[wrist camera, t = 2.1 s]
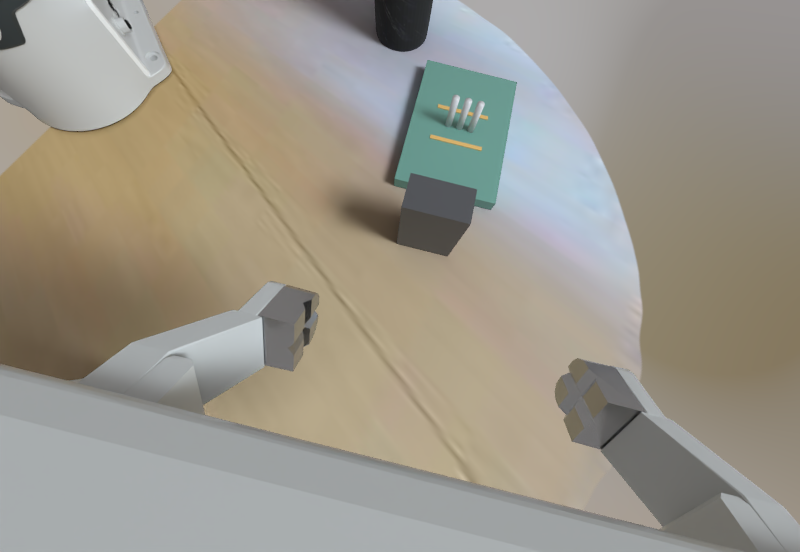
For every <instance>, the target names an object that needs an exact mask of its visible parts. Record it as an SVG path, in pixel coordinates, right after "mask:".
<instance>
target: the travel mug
mask: <svg viewBox="0 0 800 552" xmlns="http://www.w3.org/2000/svg"><path fill="white" fill-rule="evenodd" d="M432 3H433V0H375V16H376V31H377V35H378V38H379V39H380V41H381V42H382V43H383V44H384V45H385V46H387V47H388V48H390V49H393V50H396V51H411V50H414V49H416V48H418V47H419V46H421V45H422V44H423V42H424V41H425V39H426V36H427V31H428V26H429V20H430V14H431V8H432Z"/></svg>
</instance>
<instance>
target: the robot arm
mask: <svg viewBox="0 0 800 552" xmlns="http://www.w3.org/2000/svg"><path fill="white" fill-rule="evenodd" d="M170 73H171V66H170V63H169V61H168V59H167V56H166V54H165V52H164V49H163V47H162V45H161V42H160V40H159V38H158V35H157V33H156V31H155V28H154V26H153V24H152V21H151V19H150V17H149V14H148V12H147V10H146V7H145V5H144V3H143V1H142V0H0V97H2V98H3V99H4V100H5V101H7V102H8V103H10V104H13V105H16V106H19V107H22V108H26V109H27V110H28V111H30V112H31V113H32V114H33V115H34V116H35V117H36V118H37V119H39V120H40V121H42V122H43V123H45V124H47V125H49V126H51V127H54V128H57V129H61V130H67V131H87V130H94V129H98V128H102V127H105V126H108V125H111V124H113V123H115V122H117V121H119V120H121V119H123V118H124V117H126V116H127V115H129V114H130V113H132V112H133V111H134V110H135V109H136V108H137V107H138V106H139V105H140V104H141V103H142V102H143V100H144V99H145V98H146V96H147V95H148V93H149V92H150V90H151V89H152V88H153V87H154V86H155V85H157V84H158V83H160V82H161V81H162V80H164V79H165V78H166V77H167V76H168V75H169V74H170ZM318 305H319V295H318V293H315V292H311V291H308V290H304V289H300V288H297V287H293V286H289V285H285V284H281V283H277V282H274V281H270V282H267V283H266V284H265V285H264V286H263V287H262V288H261V289H260V290H259V291H258V292H257V293H256V294H255V295H254V296H253V297H252V298H251V299H250V300H249V301H248V302H247V303H246V304H245V305H244V306H243V307H242V308H240V309H239V310H238V311H236V310H231V311H228V312H225V313H222V314H218V315H215V316H212V317H209V318H206V319H203V320H200V321H197V322H194V323H191V324H188V325H184V326H181V327H178V328H175V329H172V330H169V331H166V332H163V333H160V334H157V335H153V336H150V337H147V338H144V339H141V340H138V341H135V342H132V343H130V344H129V345H128V346H126V347H125V348H124V349H122V350H121V351H120V352H118V353H117V354H115V355H114V356H113V357H111V358H110V359H109V360H107V361H106V362H105V363H103V364H102V365H101V366H99V367H98V368H97V369H95V370H94V371H93V372H91V373H90V374H89V375H87V376H86V377H85V378H83V379H82V380H80V381H79V382H78V383H76V382H72V381H68V380H64V379H60V378H56V377H52V376H48V375H44V374H40V373H36V372H32V371H28V370H24V369H20V368H16V367H12V366H8V365H4V364H0V552H800V525H799V524H798V523H797V522H796V521H795V519H794V518H793V517H792V516H791V515H790V514H789V512H788V511H787V510H786V509H785V508H784V507H783V506H782V505H781V504H779V503H778V502H777V501H775V500H774V499H773V498H772V497H770V496H769V495H768V494H766V493H765V492H764V491H763V490H761V489H760V488H759V487H757V486H756V485H755V484H753V483H752V482H751V481H750V480H748V479H747V478H746V477H745V476H743V475H742V474H741V473H739V472H738V471H737V470H736V469H734V468H733V467H732V466H730V465H729V464H728V463H727V462H725V461H724V460H723V459H721V458H720V457H719V456H718V455H716V454H715V453H714V452H712V451H711V450H710V449H708V448H707V447H706V446H705V445H703V444H702V443H701V442H700V441H698V440H697V439H696V438H694V437H693V436H692V435H691V434H689V433H688V432H687V431H686V430H684V429H683V428H682V427H680V426H679V425H678V424H676V423H675V422H674V421H673V420H671V419H668V418H665V416H664V415H663V413H662V412H661V411H660V409H659V408H658V407H657V405H656V404H655V403H654V401H653V400H652V398H651V397H650V396H649V394H648V393H647V392H646V390H645V389H644V387H643V386H642V385H641V383H640V382H639V381H638V379H637V378H636V376H635V375H634V374H633V373H632V372H630V371H629V370H627V369H623V368H618V367H614V366H607V365H603V364H599V363H595V362H591V361H587V360H583V359H579V358H577V359H575V360H574V361H572V362H571V364H570V365H569V366H568V367H569V372H570V373H567V374H565V375H563V376H561V377H560V379H559V380H558V382H557V383H556V388H555V398H556V402H557V404H558V407H559V408H560V409H561V410H562V411H563V412H564V413H565V414H566V415H565V418H564V422H565V425H566V427H567V430H568V433H569V435H570V438H571V440H572V442H576V443H579V444H583V445H587V446H590V447H594V448H597V449H601V452H602V453H603V455H604V456H605V457H606V458H607V459H608V461H609V462H610V463H611V464H612V465H613V467H614V468H615V469H616V470H617V472H618V473H619V474H620V475H621V476H622V478H623V479H624V480H625V481H626V482H627V484H628V485H629V486H630V487H631V489H632V490H633V491H634V492H635V493H636V495H637V496H638V497H639V498H640V500H641V501H642V502H643V503H644V504H645V505H646V507H647V508H648V509H649V510H650V512H651V513H652V514H653V515H654V517H655V518H656V519H657V520H658V521H659V522H660V524H661V525H662V526H663V527H662V528H661V529H659V530H658V529H654V528H650V527H646V526H643V525H639V524H634V523H631V522H627V521H622V520H619V519H615V518H610V517H607V516H603V515H598V514H595V513H591V512H587V511H583V510H579V509H575V508H571V507H567V506H563V505H559V504H555V503H551V502H547V501H543V500H539V499H535V498H531V497H527V496H523V495H519V494H515V493H511V492H507V491H503V490H499V489H495V488H491V487H487V486H483V485H479V484H475V483H471V482H468V481H464V480H460V479H456V478H452V477H448V476H444V475H440V474H436V473H432V472H428V471H424V470H420V469H416V468H412V467H408V466H404V465H400V464H396V463H392V462H388V461H385V460H381V459H377V458H373V457H369V456H365V455H361V454H357V453H353V452H349V451H345V450H341V449H337V448H333V447H329V446H325V445H321V444H317V443H313V442H309V441H305V440H301V439H297V438H293V437H289V436H285V435H282V434H278V433H274V432H270V431H266V430H262V429H258V428H254V427H250V426H246V425H242V424H238V423H234V422H230V421H226V420H222V419H218V418H214V417H210V416H206V415H205V412H204V408H203V405H204V404H205V403H207V402H209V401H210V400H212V399H213V398H215V397H217V396H218V395H220V394H221V393H223V392H225V391H226V390H228V389H229V388H231V387H233V386H234V385H236V384H238V383H239V382H241V381H242V380H244V379H246V378H247V377H249V376H250V375H252V374H254V373H255V372H257V371H258V370H260V369H262V368H263V367H264V365H266V366H271V367H275V368H280V369H284V370H289V371H294V369H295V368H296V366H297V364H298V362H299V361H300V359H301V357H302V356H303V347H304V346H306V345H308V344H309V343H310V341H311V340H312V338H313V335H314V333H315V330H316V326H317V321H318V315H317V313H316V312H315V310H316V308H317V307H318Z"/></svg>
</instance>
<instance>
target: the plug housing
mask: <svg viewBox="0 0 800 552" xmlns="http://www.w3.org/2000/svg"><path fill="white" fill-rule="evenodd" d="M476 194H477V189H474V188H470V187H466V186H462V185H458V184H454V183H450V182H446V181H442V180H438V179H434V178H430V177H426V176H422V175H418V174H414V173H411V174H410V177H409V181H408V185H407V189H406V192H405V196H404V200H403V204H402V208H401V215H400V223H399V230H398V237H397V244H400V245H404V246H408V247H412V248H416V249H420V250H424V251H428V252H432V253H436V254H440V255H444V256H448V255H449V253H450V252H451V251H452V249H453V248H454V247H455V245H456V244H457V242H458V241H459V240H460V238H461V237H462V235H463V234H464V233H465V231H466V230H467V228H468V227H469V226H470V224H471V219H472V214H473V209H474V204H475V199H476Z"/></svg>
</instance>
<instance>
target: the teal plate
mask: <svg viewBox="0 0 800 552" xmlns="http://www.w3.org/2000/svg"><path fill="white" fill-rule="evenodd" d="M516 84H517V82H514V81H510V80H506V79H502V78H498V77H494V76H490V75H486V74H482V73H478V72H474V71H470V70H466V69H462V68H458V67H454V66H450V65H446V64H442V63H438V62H434V61H430V60H427V64H426V67H425V71H424V75H423V78H422V82H421V85H420V89H419V93H418V96H417V100H416V103H415V107H414V111H413V114H412V118H411V121H410V125H409V128H408V132H407V136H406V139H405V143H404V146H403V150H402V154H401V157H400V161H399V164H398V168H397V171H396V175H395V179H394V186H397V187H401V188H405V189H407V185H408V181H409V177H410V174H411V173H414V174H418V175H422V176H426V177H430V178H434V179H438V180H442V181H446V182H450V183H454V184H458V185H462V186H466V187H470V188H474V189H477V194H476V199H475V204H474V206H478V207H482V208H486V209H490V210H491V209H492V207H493V206H494V205H495V203H496V197H497V191H498V186H499V180H500V175H501V169H502V163H503V158H504V152H505V146H506V141H507V135H508V129H509V124H510V118H511V112H512V107H513V101H514V95H515V90H516Z"/></svg>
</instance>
